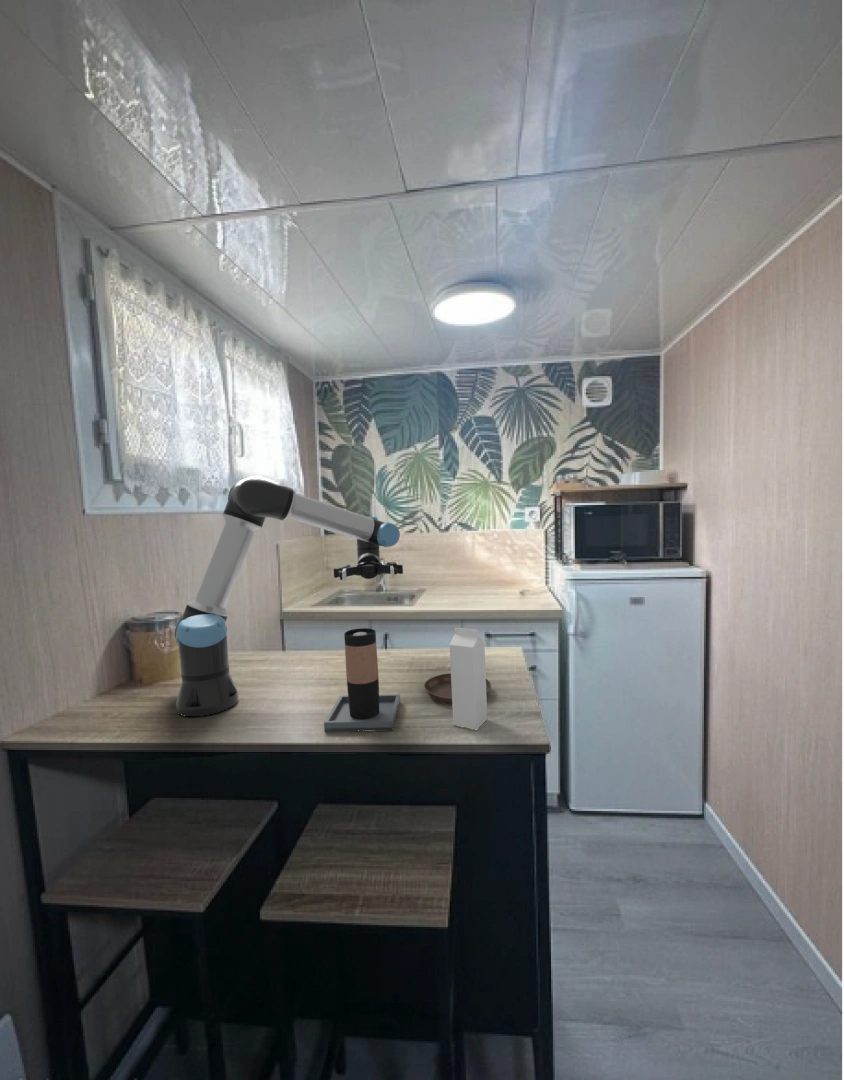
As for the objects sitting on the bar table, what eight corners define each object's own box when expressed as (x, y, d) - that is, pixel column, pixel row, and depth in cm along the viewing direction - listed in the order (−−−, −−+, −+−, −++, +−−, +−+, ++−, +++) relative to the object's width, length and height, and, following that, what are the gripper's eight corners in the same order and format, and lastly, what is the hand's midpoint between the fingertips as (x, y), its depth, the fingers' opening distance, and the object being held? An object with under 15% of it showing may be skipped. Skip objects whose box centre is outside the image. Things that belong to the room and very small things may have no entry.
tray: (324, 731, 110) (324, 722, 110) (340, 703, 126) (340, 695, 125) (392, 730, 109) (391, 721, 109) (400, 702, 125) (399, 694, 124)
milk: (464, 715, 115) (460, 624, 114) (488, 720, 112) (484, 626, 111) (452, 725, 110) (448, 630, 109) (477, 731, 107) (472, 633, 106)
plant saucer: (502, 689, 131) (502, 678, 131) (471, 714, 116) (471, 702, 116) (446, 679, 141) (445, 668, 140) (411, 701, 126) (410, 689, 126)
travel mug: (342, 713, 118) (337, 632, 116) (368, 704, 123) (363, 626, 121) (360, 723, 112) (355, 638, 111) (386, 712, 117) (382, 631, 116)
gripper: (407, 575, 157) (413, 585, 136) (330, 579, 154) (323, 591, 133) (406, 552, 156) (412, 558, 135) (328, 556, 154) (322, 564, 133)
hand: (368, 574), depth 134 cm, fingers open, 13 cm apart
